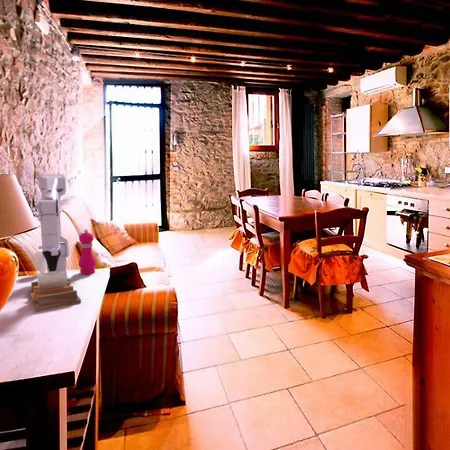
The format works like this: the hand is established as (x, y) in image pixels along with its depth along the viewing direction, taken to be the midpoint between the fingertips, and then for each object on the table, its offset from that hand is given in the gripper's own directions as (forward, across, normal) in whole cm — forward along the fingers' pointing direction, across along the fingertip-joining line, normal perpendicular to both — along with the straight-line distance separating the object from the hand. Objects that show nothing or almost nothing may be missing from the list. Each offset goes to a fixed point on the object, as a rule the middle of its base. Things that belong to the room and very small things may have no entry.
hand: (52, 270), depth 125 cm
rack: (+10, 0, 0) cm, 10 cm away
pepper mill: (+10, -25, +18) cm, 33 cm away
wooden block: (+9, 0, 0) cm, 9 cm away
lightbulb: (+10, -33, +1) cm, 35 cm away
